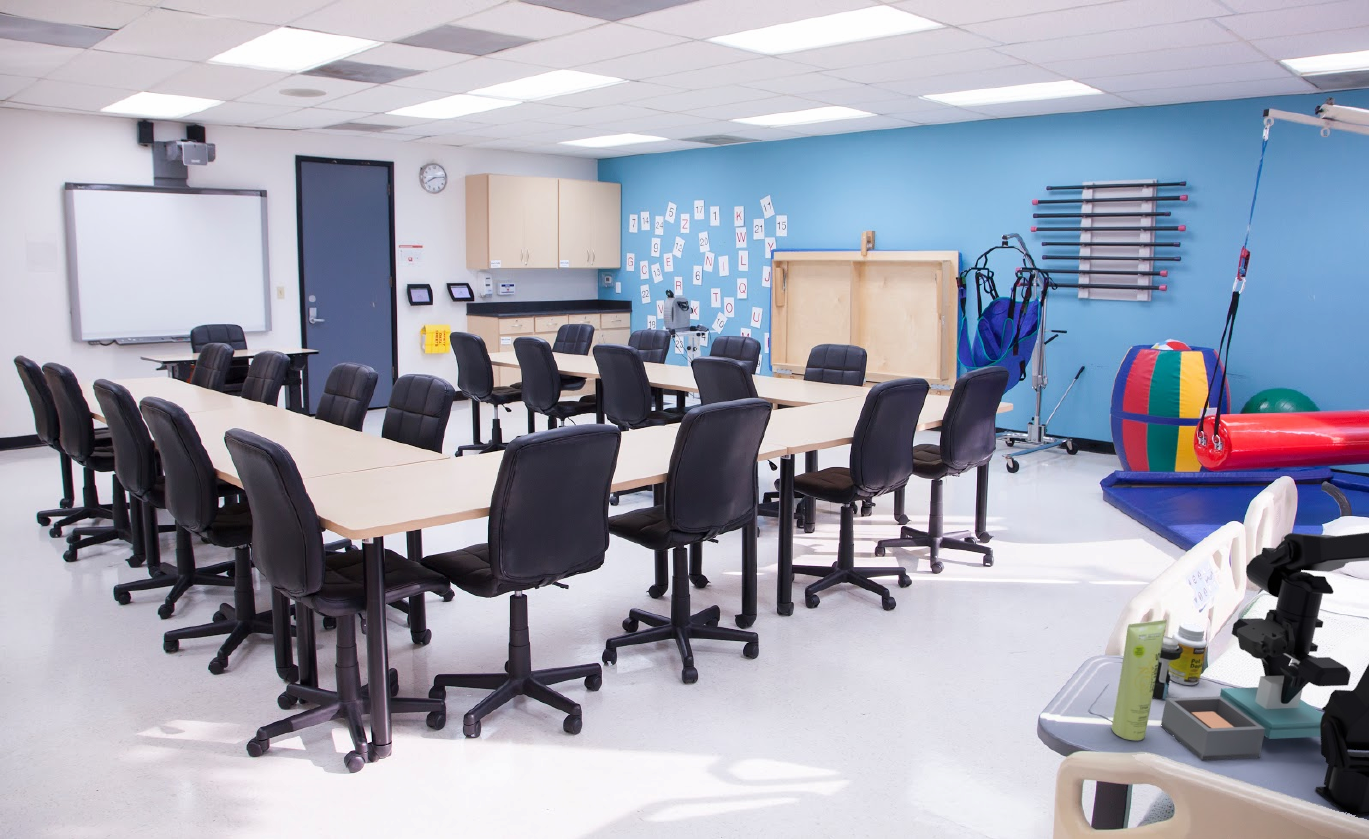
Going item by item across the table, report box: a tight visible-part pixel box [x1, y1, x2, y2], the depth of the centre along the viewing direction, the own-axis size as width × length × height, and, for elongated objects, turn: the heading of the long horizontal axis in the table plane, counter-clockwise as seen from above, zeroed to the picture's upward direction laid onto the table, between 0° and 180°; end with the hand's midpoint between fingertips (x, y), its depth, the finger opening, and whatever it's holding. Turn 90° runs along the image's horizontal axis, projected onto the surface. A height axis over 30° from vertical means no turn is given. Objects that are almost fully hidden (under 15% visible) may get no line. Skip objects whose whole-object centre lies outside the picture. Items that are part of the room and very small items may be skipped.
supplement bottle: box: [1168, 622, 1208, 686], centre depth 177 cm, size 6×6×10 cm
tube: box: [1111, 618, 1167, 741], centre depth 155 cm, size 6×5×20 cm
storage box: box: [1160, 695, 1265, 762], centre depth 156 cm, size 10×10×5 cm
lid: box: [1219, 675, 1324, 740], centre depth 160 cm, size 11×11×7 cm
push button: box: [1152, 635, 1183, 701], centre depth 171 cm, size 7×5×10 cm
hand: (1278, 698), depth 160 cm, fingers closed on lid, 2 cm apart
